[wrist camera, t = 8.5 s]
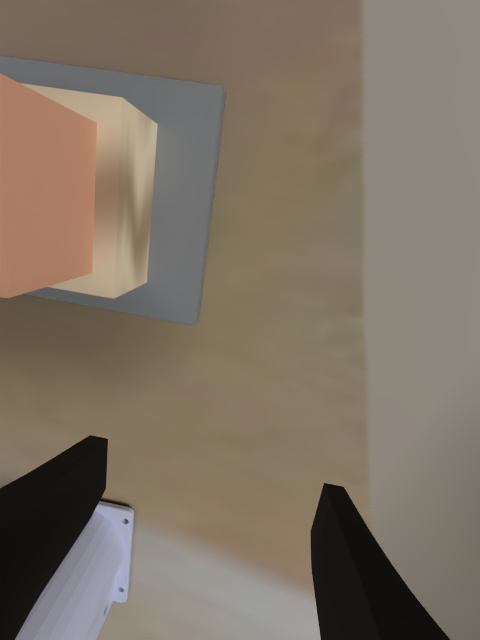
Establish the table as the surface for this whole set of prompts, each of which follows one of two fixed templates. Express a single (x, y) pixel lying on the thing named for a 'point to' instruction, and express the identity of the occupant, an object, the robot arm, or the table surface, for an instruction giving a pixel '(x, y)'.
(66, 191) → the terracotta brick
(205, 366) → the table surface
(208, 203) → the base plate
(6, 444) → the table surface
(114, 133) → the maple brick
